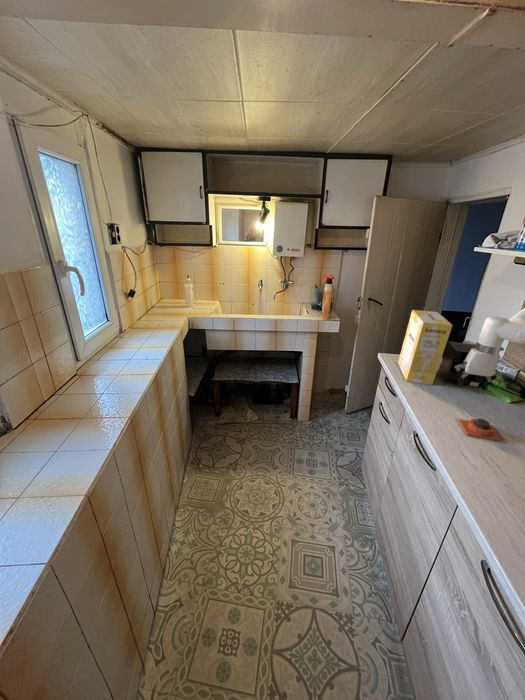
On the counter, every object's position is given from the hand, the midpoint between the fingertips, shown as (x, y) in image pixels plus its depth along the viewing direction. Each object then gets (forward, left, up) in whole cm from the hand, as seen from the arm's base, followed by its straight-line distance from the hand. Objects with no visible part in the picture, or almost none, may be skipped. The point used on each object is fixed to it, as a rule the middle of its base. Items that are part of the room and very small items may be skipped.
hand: (471, 386), depth 117 cm
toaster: (0, -10, -3) cm, 11 cm away
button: (+6, +28, 0) cm, 28 cm away
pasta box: (+20, -9, -3) cm, 22 cm away
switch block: (+6, +28, -3) cm, 28 cm away
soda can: (-5, -25, -3) cm, 26 cm away
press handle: (0, -1, +1) cm, 2 cm away
